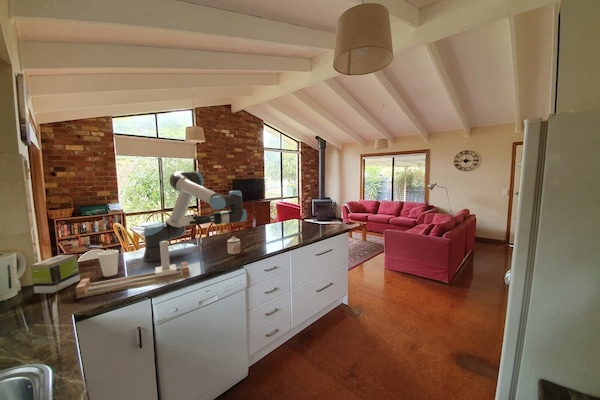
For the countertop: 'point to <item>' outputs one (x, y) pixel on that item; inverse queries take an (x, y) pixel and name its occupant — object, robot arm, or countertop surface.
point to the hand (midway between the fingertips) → (181, 221)
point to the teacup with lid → (233, 245)
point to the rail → (127, 282)
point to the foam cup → (109, 262)
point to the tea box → (55, 273)
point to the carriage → (165, 261)
